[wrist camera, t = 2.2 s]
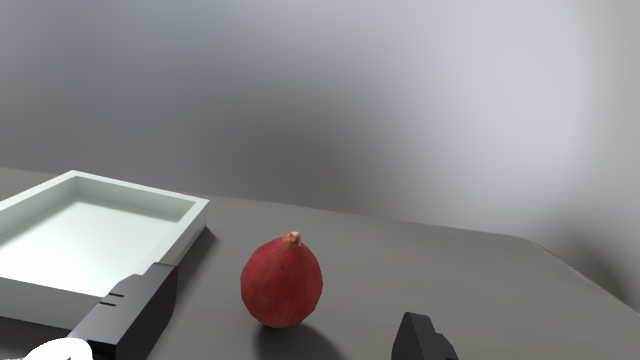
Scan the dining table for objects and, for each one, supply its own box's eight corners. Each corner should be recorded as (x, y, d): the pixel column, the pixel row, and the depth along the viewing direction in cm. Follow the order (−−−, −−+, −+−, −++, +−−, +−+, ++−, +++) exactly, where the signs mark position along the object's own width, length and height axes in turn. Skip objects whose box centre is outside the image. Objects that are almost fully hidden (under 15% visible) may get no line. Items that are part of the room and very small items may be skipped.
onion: (216, 320, 26) (232, 223, 23) (270, 288, 30) (288, 204, 28) (275, 370, 23) (301, 266, 20) (324, 326, 27) (350, 238, 25)
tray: (-107, 294, 22) (-116, 253, 21) (72, 196, 37) (72, 170, 36) (123, 340, 22) (125, 301, 21) (206, 225, 37) (209, 200, 36)
